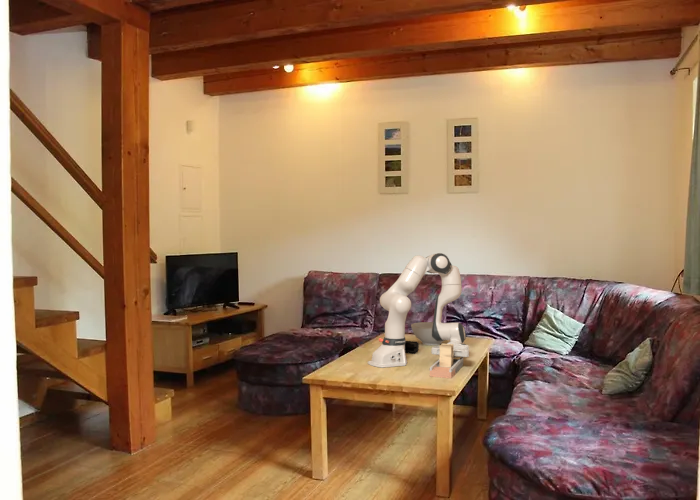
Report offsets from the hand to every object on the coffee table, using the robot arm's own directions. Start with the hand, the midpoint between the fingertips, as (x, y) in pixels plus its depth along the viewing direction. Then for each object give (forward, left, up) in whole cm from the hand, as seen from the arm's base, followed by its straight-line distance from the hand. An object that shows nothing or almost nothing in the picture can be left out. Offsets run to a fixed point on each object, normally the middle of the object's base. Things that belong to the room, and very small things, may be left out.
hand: (447, 354), depth 319 cm
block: (-2, -2, -6) cm, 6 cm away
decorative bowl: (+42, +61, -9) cm, 75 cm away
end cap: (+12, +47, -9) cm, 50 cm away
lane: (-1, 0, -8) cm, 9 cm away
